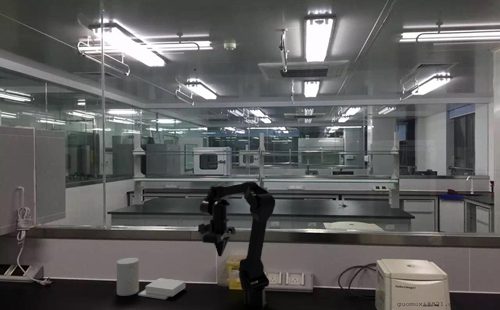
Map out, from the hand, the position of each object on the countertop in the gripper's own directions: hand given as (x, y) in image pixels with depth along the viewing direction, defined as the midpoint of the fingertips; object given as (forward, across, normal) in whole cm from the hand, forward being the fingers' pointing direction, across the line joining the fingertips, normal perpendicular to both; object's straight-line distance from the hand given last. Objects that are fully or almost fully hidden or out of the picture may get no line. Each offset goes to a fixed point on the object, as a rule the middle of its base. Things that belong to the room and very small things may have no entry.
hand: (220, 256), depth 126 cm
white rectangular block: (+11, +9, -13) cm, 19 cm away
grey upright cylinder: (+13, +13, -34) cm, 39 cm away
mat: (+13, +10, -22) cm, 27 cm away
